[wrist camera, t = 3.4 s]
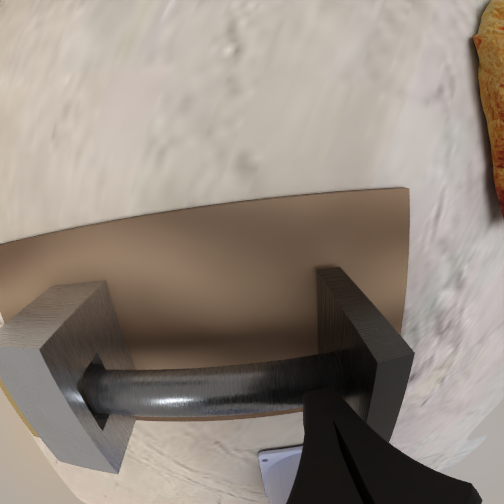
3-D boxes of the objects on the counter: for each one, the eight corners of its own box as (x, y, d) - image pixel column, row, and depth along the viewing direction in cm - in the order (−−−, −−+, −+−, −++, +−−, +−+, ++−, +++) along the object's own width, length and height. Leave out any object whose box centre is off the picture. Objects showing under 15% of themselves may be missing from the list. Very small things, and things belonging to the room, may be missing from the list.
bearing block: (145, 392, 17) (118, 474, 10) (95, 389, 17) (59, 461, 10) (106, 279, 15) (38, 349, 8) (52, 285, 14) (-18, 344, 8)
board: (386, 386, 18) (389, 391, 18) (52, 404, 18) (49, 408, 18) (403, 187, 14) (409, 188, 14) (-14, 247, 14) (-19, 250, 14)
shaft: (336, 375, 16) (376, 473, 9) (77, 388, 16) (34, 466, 9) (339, 266, 14) (414, 353, 7) (37, 298, 14) (-38, 364, 7)
